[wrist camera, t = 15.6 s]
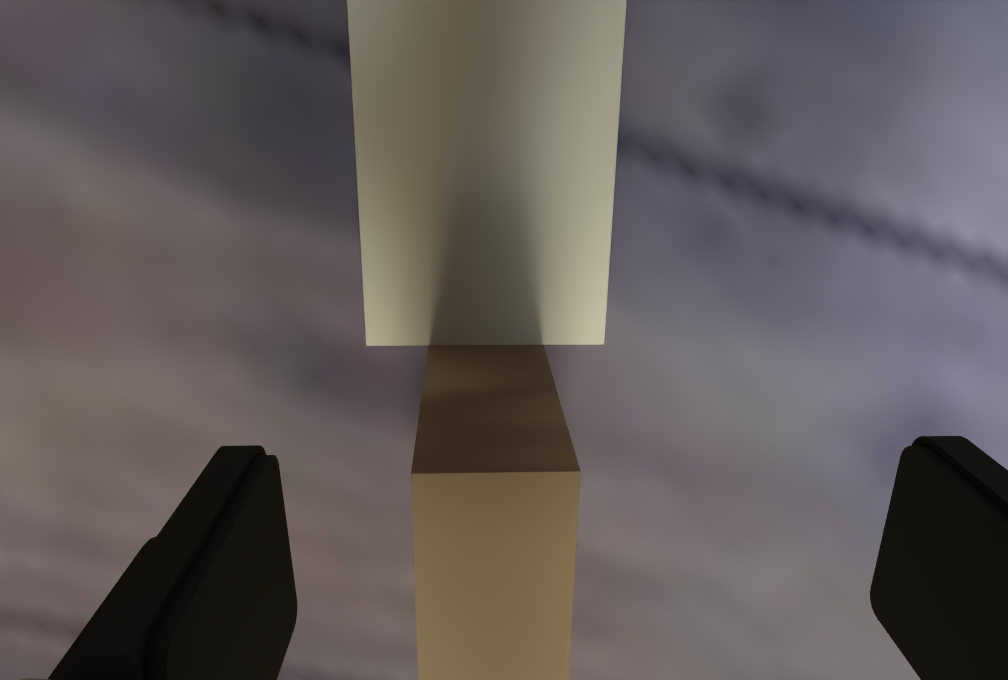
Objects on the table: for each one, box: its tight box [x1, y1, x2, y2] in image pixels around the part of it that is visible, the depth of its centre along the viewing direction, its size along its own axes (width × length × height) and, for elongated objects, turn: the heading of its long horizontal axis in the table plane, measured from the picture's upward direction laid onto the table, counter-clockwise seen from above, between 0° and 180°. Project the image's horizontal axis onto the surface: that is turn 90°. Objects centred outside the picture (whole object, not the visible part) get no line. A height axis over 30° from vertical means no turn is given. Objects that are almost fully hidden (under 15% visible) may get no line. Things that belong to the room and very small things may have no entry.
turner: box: [347, 0, 627, 680], centre depth 11 cm, size 5×16×6 cm, turn 179°
